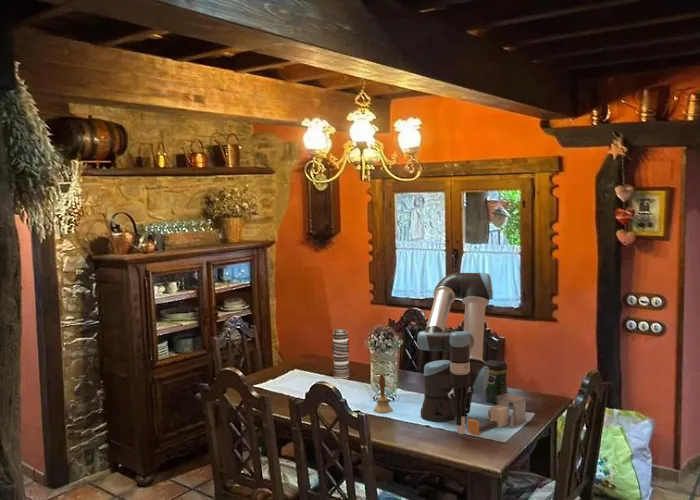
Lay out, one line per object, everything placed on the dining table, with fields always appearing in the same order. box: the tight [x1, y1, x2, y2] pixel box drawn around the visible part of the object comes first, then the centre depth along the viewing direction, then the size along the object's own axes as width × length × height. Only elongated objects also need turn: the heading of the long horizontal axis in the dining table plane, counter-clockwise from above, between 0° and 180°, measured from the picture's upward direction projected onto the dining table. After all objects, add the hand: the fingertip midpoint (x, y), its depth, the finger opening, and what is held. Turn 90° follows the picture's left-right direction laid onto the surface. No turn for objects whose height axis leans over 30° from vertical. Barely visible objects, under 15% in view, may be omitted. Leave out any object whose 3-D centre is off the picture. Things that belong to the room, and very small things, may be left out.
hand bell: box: [373, 373, 393, 414], centre depth 293 cm, size 8×8×16 cm
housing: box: [487, 392, 527, 429], centre depth 274 cm, size 10×13×10 cm
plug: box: [467, 404, 509, 436], centre depth 267 cm, size 19×5×7 cm, turn 128°
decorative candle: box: [331, 328, 351, 380], centre depth 351 cm, size 9×9×25 cm
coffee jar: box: [484, 359, 508, 405], centre depth 301 cm, size 10×8×19 cm
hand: (461, 432), depth 257 cm, fingers closed
